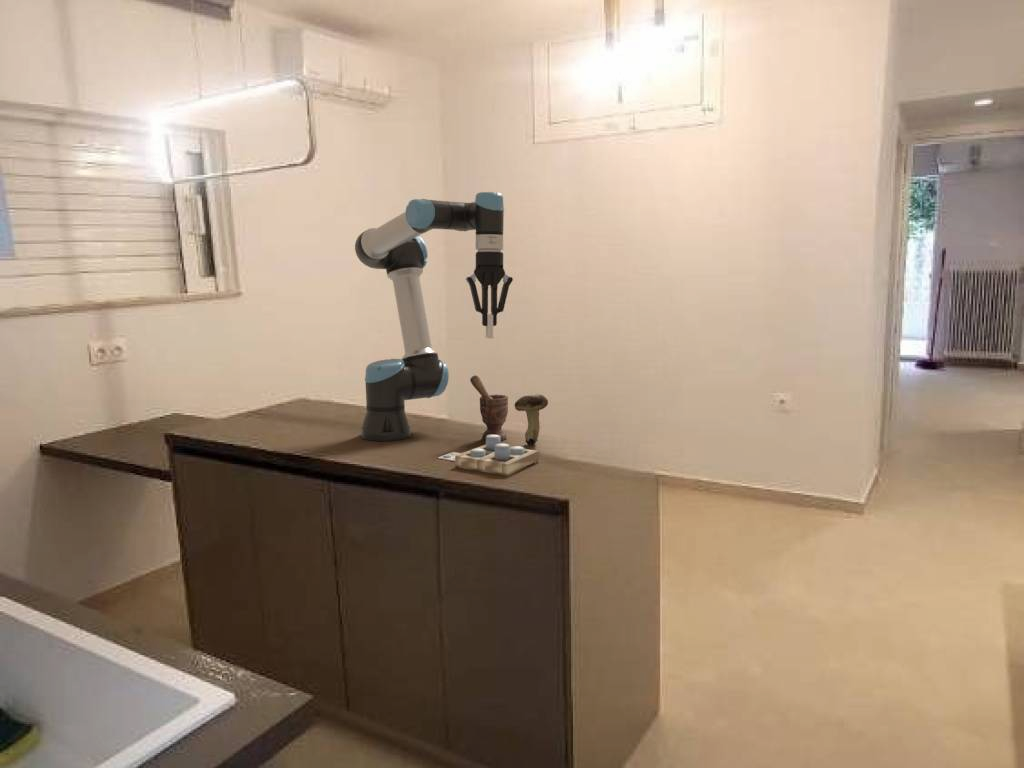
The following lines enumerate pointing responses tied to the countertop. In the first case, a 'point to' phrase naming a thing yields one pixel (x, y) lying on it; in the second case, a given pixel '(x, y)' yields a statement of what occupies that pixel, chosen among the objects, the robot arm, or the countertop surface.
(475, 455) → the button
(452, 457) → the card
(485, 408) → the mortar and pestle
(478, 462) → the wooden compartment tray
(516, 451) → the button
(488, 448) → the button
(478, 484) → the countertop surface
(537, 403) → the mushroom
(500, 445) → the button
